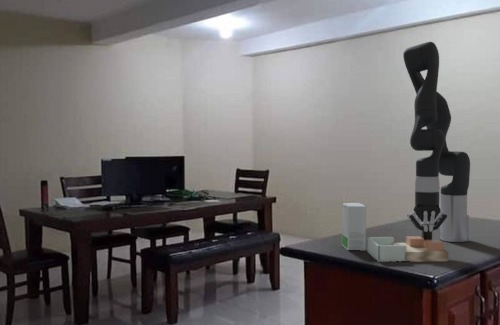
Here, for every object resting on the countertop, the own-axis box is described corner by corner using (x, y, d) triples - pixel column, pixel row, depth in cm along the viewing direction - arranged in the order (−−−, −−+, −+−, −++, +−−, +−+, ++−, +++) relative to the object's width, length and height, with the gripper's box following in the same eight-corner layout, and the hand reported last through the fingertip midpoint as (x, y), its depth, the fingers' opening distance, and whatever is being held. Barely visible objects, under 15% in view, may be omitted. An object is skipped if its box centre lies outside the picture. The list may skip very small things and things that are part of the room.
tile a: (419, 243, 164) (419, 236, 164) (424, 246, 159) (424, 238, 159) (405, 243, 164) (406, 236, 164) (410, 246, 159) (410, 238, 159)
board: (431, 251, 166) (431, 242, 166) (448, 261, 152) (448, 251, 152) (393, 251, 166) (393, 242, 166) (406, 261, 152) (406, 252, 152)
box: (393, 251, 166) (393, 236, 165) (406, 261, 152) (406, 245, 151) (367, 251, 166) (367, 237, 165) (378, 262, 152) (378, 246, 151)
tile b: (438, 247, 158) (438, 239, 158) (443, 250, 153) (443, 242, 153) (424, 247, 158) (424, 239, 158) (429, 250, 153) (429, 242, 153)
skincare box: (341, 246, 175) (341, 202, 175) (359, 245, 176) (359, 202, 175) (348, 251, 167) (347, 205, 166) (366, 250, 168) (366, 205, 167)
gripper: (442, 188, 164) (442, 239, 165) (403, 189, 164) (403, 240, 165) (452, 190, 157) (451, 244, 158) (411, 191, 157) (410, 245, 157)
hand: (426, 242), depth 161 cm, fingers closed
